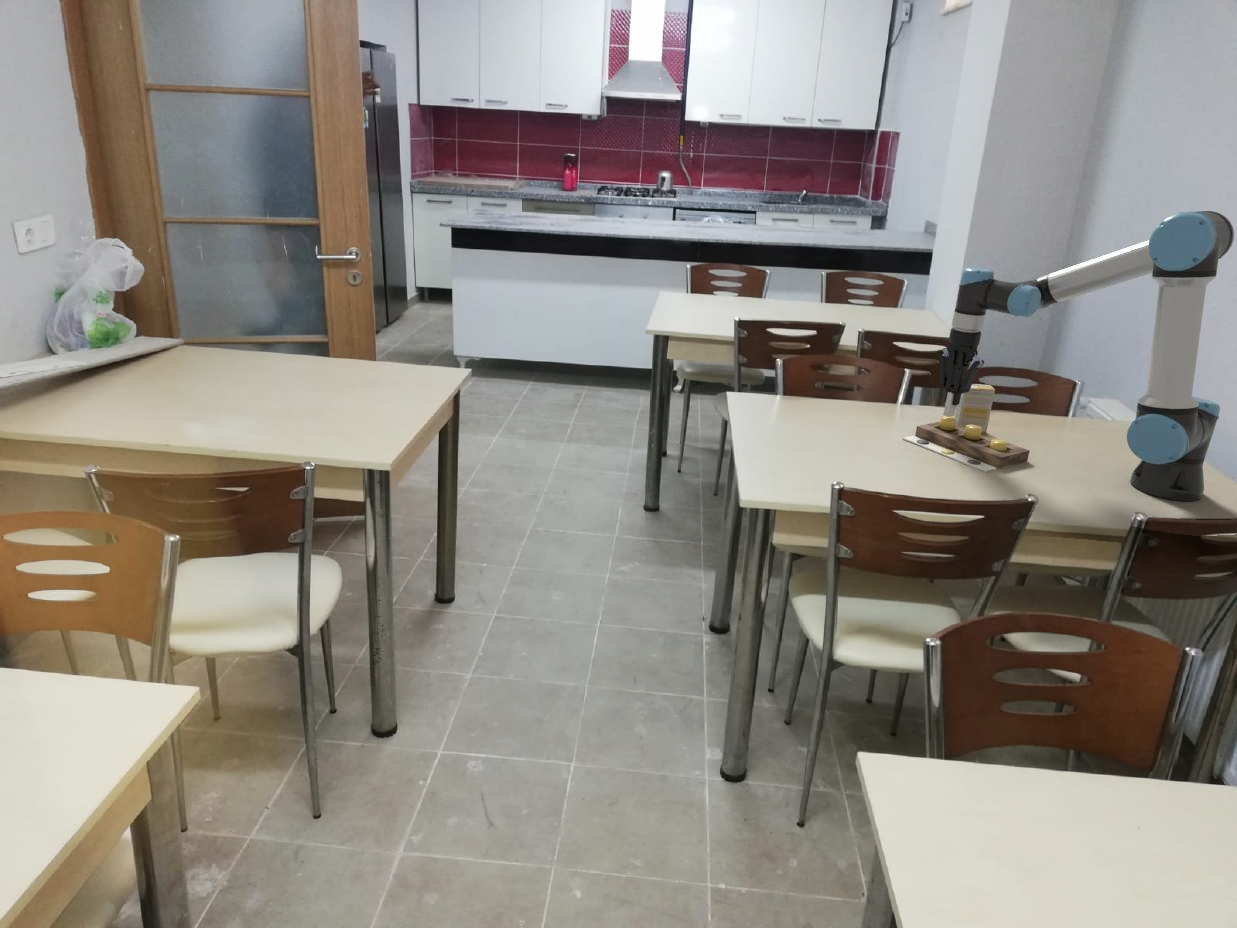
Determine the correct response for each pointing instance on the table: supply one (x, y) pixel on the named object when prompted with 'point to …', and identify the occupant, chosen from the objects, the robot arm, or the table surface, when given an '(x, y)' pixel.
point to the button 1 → (947, 423)
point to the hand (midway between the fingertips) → (948, 415)
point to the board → (972, 445)
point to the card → (950, 453)
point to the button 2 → (998, 445)
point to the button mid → (972, 432)
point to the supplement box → (975, 406)
